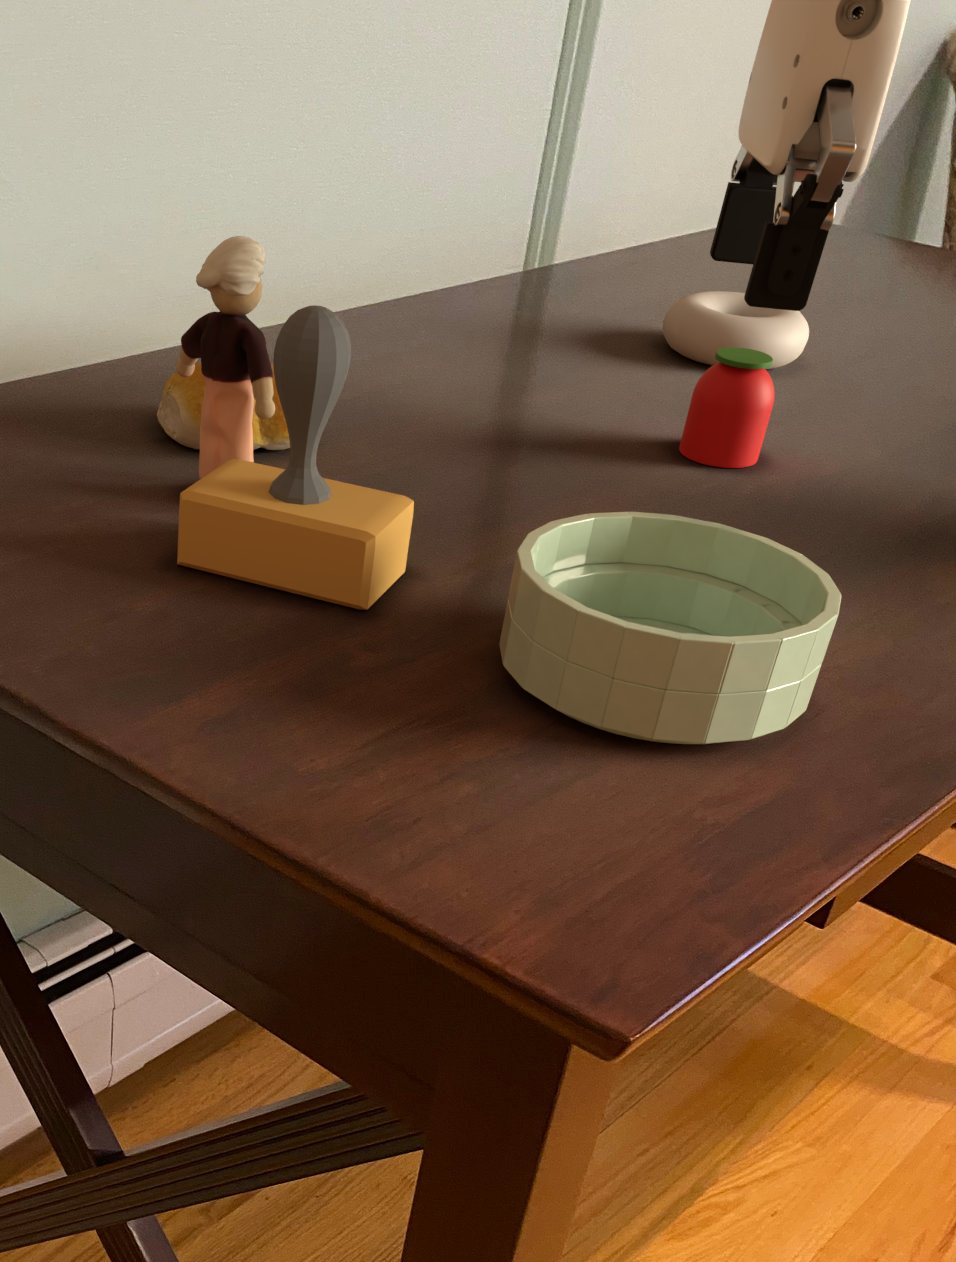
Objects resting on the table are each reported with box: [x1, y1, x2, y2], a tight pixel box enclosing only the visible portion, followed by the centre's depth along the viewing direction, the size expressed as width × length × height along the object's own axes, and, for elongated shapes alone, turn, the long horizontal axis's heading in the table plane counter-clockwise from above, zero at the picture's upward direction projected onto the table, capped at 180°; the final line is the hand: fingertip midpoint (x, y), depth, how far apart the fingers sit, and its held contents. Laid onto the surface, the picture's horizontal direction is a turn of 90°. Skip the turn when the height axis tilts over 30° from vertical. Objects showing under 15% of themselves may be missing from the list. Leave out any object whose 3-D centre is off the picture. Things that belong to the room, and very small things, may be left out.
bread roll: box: [156, 363, 290, 451], centre depth 87 cm, size 8×9×4 cm
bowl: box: [498, 511, 843, 745], centre depth 64 cm, size 13×13×5 cm
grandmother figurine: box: [175, 235, 275, 480], centre depth 76 cm, size 8×4×13 cm, turn 48°
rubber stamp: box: [176, 304, 415, 610], centre depth 69 cm, size 10×6×12 cm, turn 64°
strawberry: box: [678, 347, 775, 469], centre depth 88 cm, size 5×5×6 cm
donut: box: [662, 290, 810, 370], centre depth 105 cm, size 10×4×10 cm
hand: (754, 283), depth 84 cm, fingers open, 9 cm apart
